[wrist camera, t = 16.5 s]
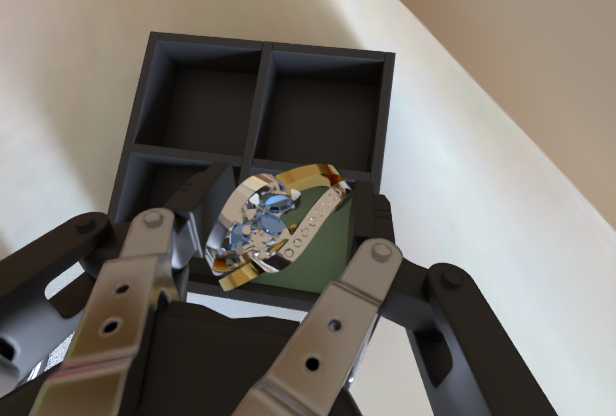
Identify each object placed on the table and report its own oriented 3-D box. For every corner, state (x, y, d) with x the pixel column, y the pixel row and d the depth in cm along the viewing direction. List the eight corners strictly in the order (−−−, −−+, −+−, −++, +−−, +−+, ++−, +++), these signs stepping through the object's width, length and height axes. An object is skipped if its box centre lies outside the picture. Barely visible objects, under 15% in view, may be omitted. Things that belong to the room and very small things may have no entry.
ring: (257, 291, 16) (188, 327, 8) (230, 243, 17) (141, 234, 9) (361, 226, 16) (389, 201, 8) (331, 180, 17) (330, 117, 9)
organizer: (130, 271, 25) (92, 276, 21) (176, 62, 28) (150, 30, 24) (358, 308, 23) (364, 321, 19) (385, 82, 26) (395, 52, 22)
